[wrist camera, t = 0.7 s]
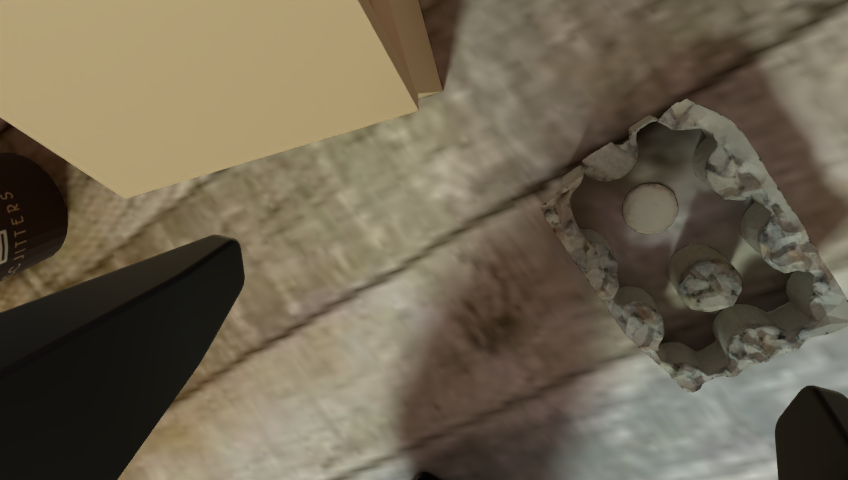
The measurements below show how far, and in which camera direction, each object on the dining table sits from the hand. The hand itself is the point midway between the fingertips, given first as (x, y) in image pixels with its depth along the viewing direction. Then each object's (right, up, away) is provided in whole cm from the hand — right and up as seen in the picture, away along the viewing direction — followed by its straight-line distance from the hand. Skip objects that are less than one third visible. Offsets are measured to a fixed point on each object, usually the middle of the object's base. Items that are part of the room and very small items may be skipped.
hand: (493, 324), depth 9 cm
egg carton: (+10, +2, +15) cm, 18 cm away
